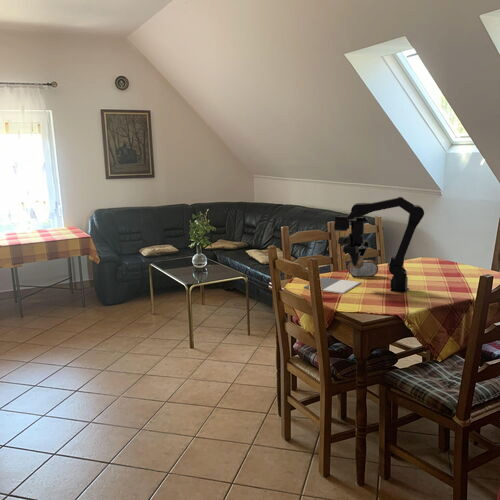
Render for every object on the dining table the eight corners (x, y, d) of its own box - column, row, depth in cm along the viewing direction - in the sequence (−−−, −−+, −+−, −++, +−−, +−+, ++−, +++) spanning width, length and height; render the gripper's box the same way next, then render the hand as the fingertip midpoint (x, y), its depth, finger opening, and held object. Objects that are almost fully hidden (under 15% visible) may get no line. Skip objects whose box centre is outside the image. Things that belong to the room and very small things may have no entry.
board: (360, 283, 240) (360, 282, 240) (343, 293, 224) (343, 292, 224) (322, 278, 252) (322, 277, 252) (303, 288, 236) (303, 286, 236)
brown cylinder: (363, 266, 230) (363, 256, 229) (359, 268, 227) (359, 257, 226) (354, 265, 233) (354, 255, 232) (350, 267, 229) (350, 256, 228)
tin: (377, 275, 254) (377, 259, 252) (378, 277, 251) (378, 260, 249) (347, 275, 255) (347, 259, 254) (348, 277, 252) (348, 261, 251)
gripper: (349, 227, 238) (348, 259, 242) (332, 233, 223) (331, 266, 226) (371, 228, 232) (370, 261, 235) (355, 234, 217) (355, 269, 220)
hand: (356, 264), depth 229 cm, fingers closed on brown cylinder, 4 cm apart
